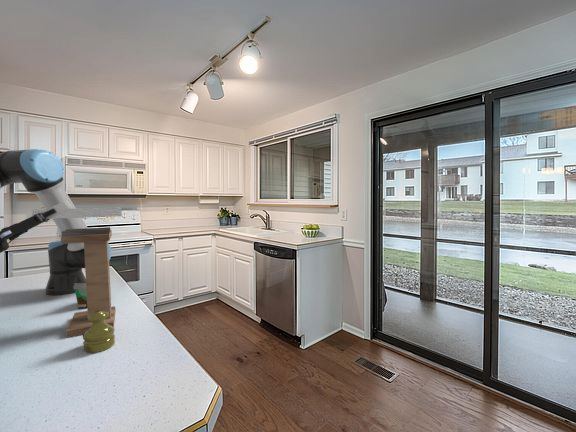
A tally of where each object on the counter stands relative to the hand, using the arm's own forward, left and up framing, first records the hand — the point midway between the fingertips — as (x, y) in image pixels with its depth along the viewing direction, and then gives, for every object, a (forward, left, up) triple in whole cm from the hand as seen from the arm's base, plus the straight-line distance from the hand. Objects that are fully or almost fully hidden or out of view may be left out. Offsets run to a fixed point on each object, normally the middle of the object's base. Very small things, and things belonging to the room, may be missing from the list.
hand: (67, 204), depth 95 cm
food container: (-15, +5, -39) cm, 42 cm away
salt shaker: (+24, +9, -39) cm, 47 cm away
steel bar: (0, +3, -4) cm, 5 cm away
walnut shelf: (+5, +6, -39) cm, 40 cm away
